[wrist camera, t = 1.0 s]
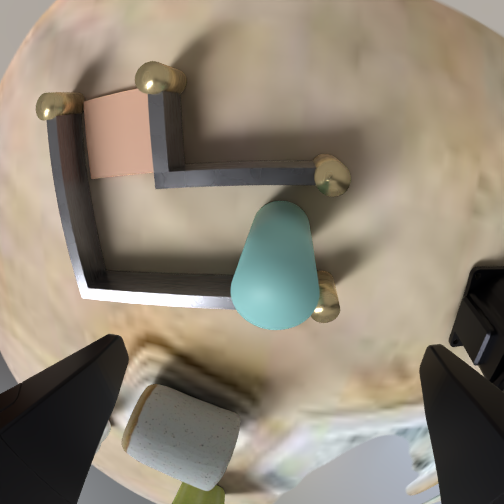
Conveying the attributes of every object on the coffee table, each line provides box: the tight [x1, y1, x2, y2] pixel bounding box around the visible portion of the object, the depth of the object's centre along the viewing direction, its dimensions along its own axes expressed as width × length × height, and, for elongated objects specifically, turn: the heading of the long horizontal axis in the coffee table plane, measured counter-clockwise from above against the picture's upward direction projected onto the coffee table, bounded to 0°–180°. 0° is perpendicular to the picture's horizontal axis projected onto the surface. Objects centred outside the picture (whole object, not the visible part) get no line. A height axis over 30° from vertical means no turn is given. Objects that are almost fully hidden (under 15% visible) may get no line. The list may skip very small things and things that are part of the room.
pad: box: [84, 88, 154, 179], centre depth 16 cm, size 5×5×1 cm
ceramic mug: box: [122, 384, 240, 491], centre depth 22 cm, size 11×8×8 cm
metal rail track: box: [36, 61, 351, 323], centre depth 16 cm, size 16×14×3 cm
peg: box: [231, 201, 319, 330], centre depth 14 cm, size 3×3×7 cm
